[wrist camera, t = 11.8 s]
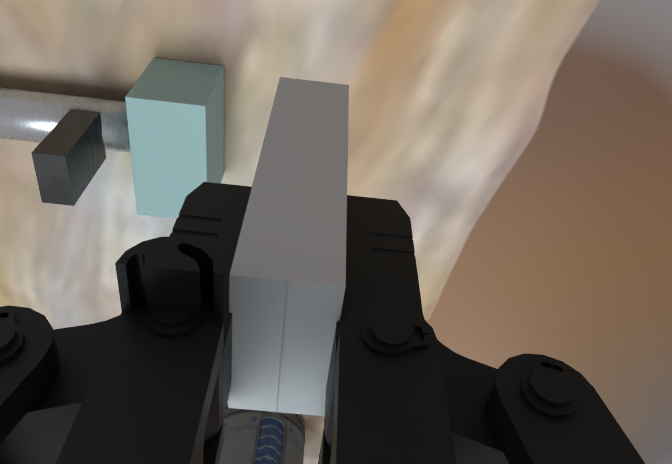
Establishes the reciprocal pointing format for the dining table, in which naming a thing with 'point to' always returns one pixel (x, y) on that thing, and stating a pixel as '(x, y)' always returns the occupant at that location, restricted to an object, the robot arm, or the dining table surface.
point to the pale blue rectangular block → (175, 133)
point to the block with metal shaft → (64, 137)
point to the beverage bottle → (261, 438)
